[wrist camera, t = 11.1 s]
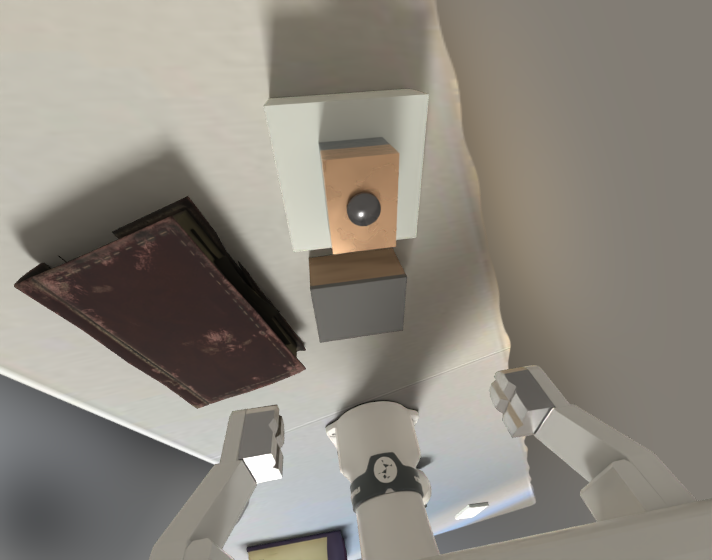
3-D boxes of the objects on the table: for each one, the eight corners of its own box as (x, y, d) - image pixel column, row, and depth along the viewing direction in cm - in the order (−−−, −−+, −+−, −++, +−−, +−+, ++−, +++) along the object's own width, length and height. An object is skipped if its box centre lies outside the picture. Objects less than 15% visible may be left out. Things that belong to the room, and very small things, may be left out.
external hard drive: (486, 500, 110) (472, 512, 117) (468, 502, 108) (454, 514, 115) (489, 505, 108) (474, 517, 115) (470, 508, 106) (455, 520, 113)
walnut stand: (390, 298, 40) (402, 330, 35) (317, 308, 39) (319, 342, 34) (392, 247, 35) (406, 277, 30) (308, 257, 34) (310, 289, 30)
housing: (382, 136, 23) (401, 154, 19) (381, 219, 27) (397, 249, 23) (318, 142, 22) (322, 162, 18) (328, 225, 27) (333, 257, 22)
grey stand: (402, 216, 33) (416, 237, 29) (294, 228, 32) (293, 252, 28) (409, 88, 26) (429, 94, 22) (269, 98, 24) (263, 106, 21)
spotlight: (397, 483, 79) (409, 515, 72) (382, 460, 74) (394, 492, 67) (423, 468, 80) (438, 499, 73) (410, 444, 75) (425, 475, 68)
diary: (201, 381, 46) (191, 412, 42) (41, 261, 31) (2, 291, 27) (310, 342, 44) (311, 371, 40) (196, 191, 28) (179, 213, 24)
